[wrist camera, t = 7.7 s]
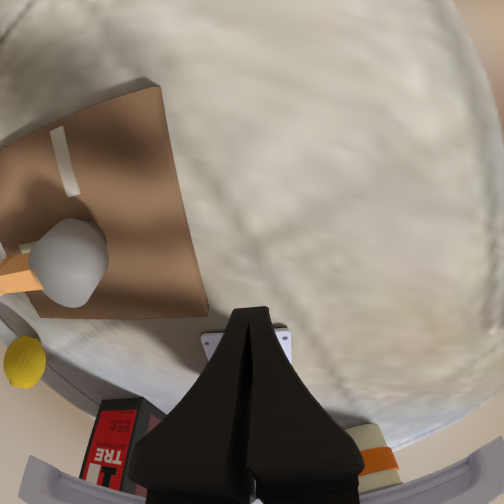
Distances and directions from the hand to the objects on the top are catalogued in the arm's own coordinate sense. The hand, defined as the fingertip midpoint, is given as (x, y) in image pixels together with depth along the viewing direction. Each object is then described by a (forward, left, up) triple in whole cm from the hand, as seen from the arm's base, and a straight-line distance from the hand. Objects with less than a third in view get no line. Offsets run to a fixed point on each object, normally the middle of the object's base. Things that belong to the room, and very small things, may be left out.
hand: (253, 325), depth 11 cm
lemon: (-12, +29, -10) cm, 33 cm away
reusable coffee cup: (-41, -13, -10) cm, 44 cm away
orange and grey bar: (+1, +15, -6) cm, 17 cm away
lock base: (+1, +14, -9) cm, 17 cm away
